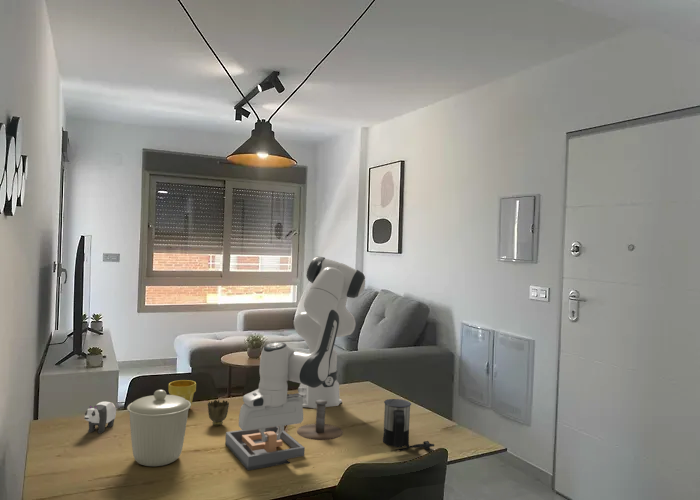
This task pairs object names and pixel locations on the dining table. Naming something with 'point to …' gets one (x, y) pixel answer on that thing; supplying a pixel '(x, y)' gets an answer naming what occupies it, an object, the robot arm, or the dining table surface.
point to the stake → (320, 426)
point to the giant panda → (100, 416)
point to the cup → (218, 411)
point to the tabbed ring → (267, 446)
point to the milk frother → (399, 425)
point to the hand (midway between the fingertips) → (270, 440)
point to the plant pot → (183, 389)
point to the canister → (158, 428)
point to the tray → (262, 450)
